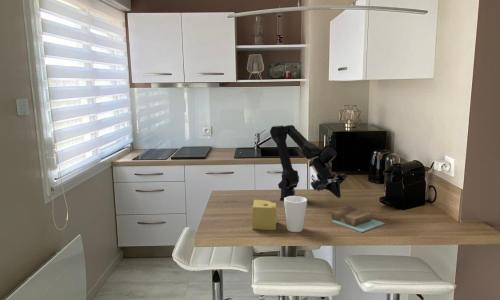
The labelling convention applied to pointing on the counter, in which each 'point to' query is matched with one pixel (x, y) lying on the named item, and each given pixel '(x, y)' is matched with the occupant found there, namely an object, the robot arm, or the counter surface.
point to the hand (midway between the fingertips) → (339, 197)
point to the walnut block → (351, 216)
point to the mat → (362, 225)
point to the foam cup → (295, 212)
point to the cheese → (264, 215)
